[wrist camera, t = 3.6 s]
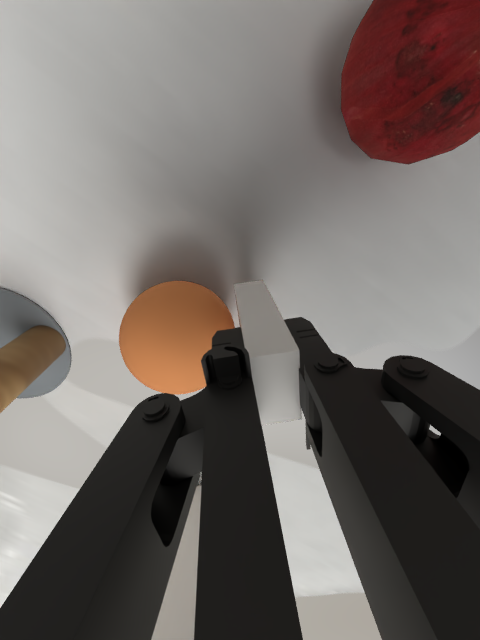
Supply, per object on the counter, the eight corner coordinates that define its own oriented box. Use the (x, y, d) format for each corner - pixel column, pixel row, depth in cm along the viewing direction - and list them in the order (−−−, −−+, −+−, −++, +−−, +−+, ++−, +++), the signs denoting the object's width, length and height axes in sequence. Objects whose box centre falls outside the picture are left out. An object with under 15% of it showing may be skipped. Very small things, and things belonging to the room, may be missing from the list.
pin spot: (94, 338, 17) (92, 339, 17) (39, 414, 20) (37, 416, 20) (-45, 255, 15) (-49, 256, 15) (-88, 354, 17) (-91, 356, 17)
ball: (242, 380, 11) (93, 404, 11) (244, 386, 16) (148, 402, 16) (221, 250, 12) (93, 270, 12) (230, 297, 18) (143, 310, 18)
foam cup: (242, 463, 23) (259, 736, 12) (266, 521, 27) (296, 769, 15) (142, 486, 24) (61, 766, 12) (179, 539, 28) (144, 790, 16)
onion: (376, 193, 14) (525, 190, 7) (292, 124, 13) (375, 34, 6) (462, 77, 13) (784, -85, 5) (375, -19, 11) (658, -428, 4)
